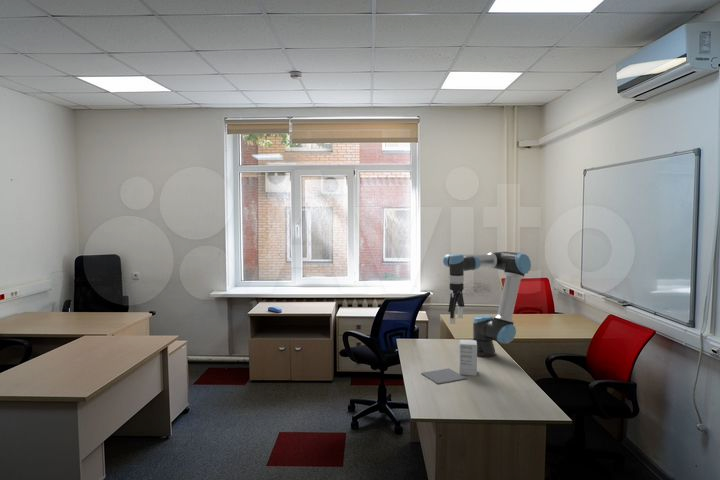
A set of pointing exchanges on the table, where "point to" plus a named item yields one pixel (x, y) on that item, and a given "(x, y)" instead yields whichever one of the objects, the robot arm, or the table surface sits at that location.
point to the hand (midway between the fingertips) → (456, 321)
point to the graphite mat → (443, 376)
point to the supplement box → (468, 357)
